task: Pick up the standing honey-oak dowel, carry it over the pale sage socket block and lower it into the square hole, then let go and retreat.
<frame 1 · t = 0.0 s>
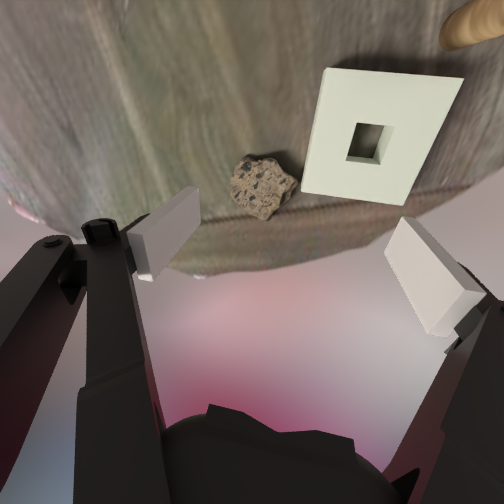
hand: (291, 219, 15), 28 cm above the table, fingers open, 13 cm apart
socket block: (362, 139, 36), on the table
rock: (262, 182, 43), on the table
dowel: (458, 29, 28), on the table
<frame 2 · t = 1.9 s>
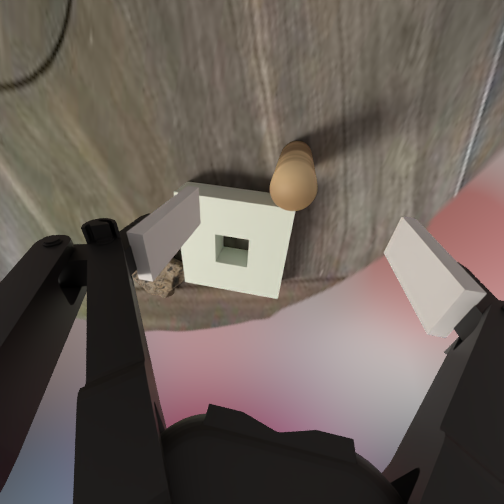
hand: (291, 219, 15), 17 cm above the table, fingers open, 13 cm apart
socket block: (238, 236, 37), on the table
rock: (161, 261, 44), on the table
dowel: (295, 158, 29), on the table
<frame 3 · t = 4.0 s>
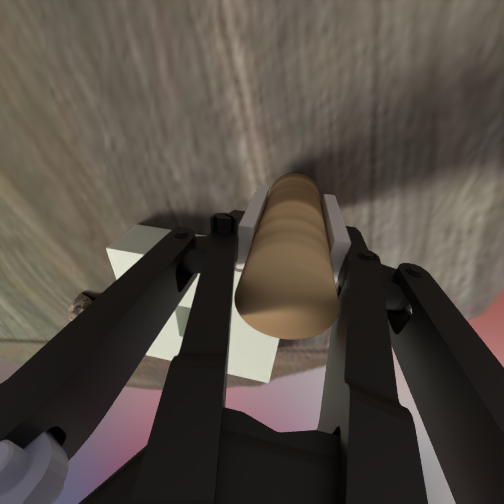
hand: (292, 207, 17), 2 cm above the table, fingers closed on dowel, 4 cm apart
socket block: (214, 295, 27), on the table
rock: (117, 316, 34), on the table
dowel: (293, 197, 19), on the table, touching gripper
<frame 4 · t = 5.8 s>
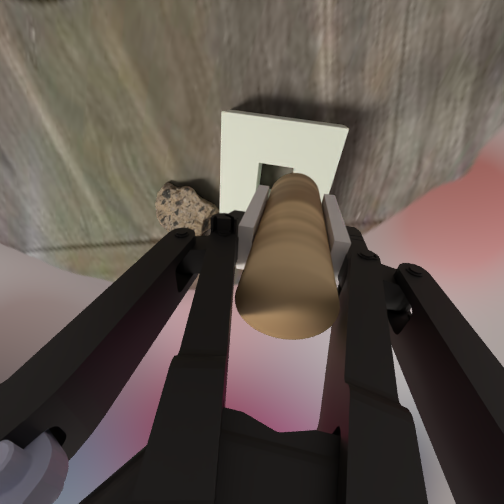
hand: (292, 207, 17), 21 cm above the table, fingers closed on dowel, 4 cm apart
socket block: (276, 174, 37), on the table
rock: (189, 207, 43), on the table
dowel: (294, 197, 19), point 19 cm above the table, touching gripper
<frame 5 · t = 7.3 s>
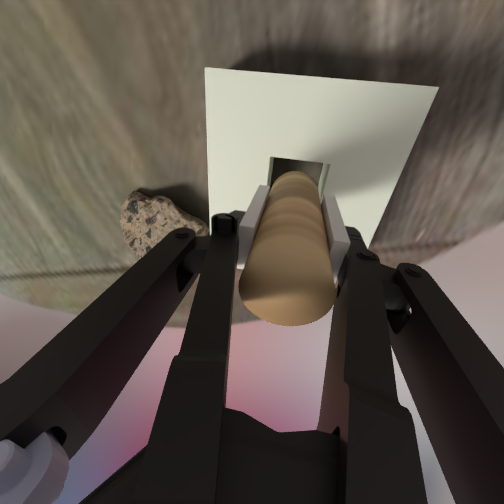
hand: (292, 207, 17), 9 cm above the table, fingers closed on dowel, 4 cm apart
socket block: (295, 175, 24), on the table
rock: (169, 224, 31), on the table
dowel: (293, 195, 19), point 6 cm above the table, touching gripper
when the fingers open (6 cm above the table, at t = 8.1 s): dowel drops 2 cm, on the table.
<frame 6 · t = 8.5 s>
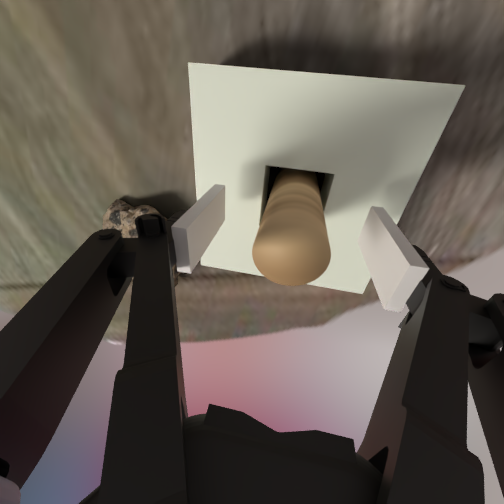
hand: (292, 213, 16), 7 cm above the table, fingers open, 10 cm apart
socket block: (294, 184, 22), on the table
rock: (157, 235, 28), on the table
dowel: (295, 185, 22), on the table
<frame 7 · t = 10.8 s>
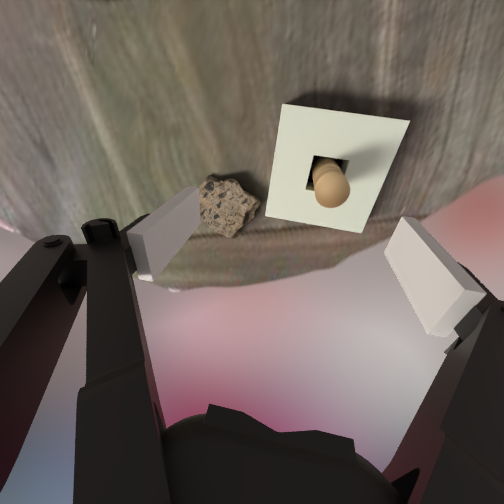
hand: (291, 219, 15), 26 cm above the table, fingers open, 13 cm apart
socket block: (323, 168, 37), on the table
rock: (228, 201, 44), on the table
dowel: (324, 168, 37), on the table
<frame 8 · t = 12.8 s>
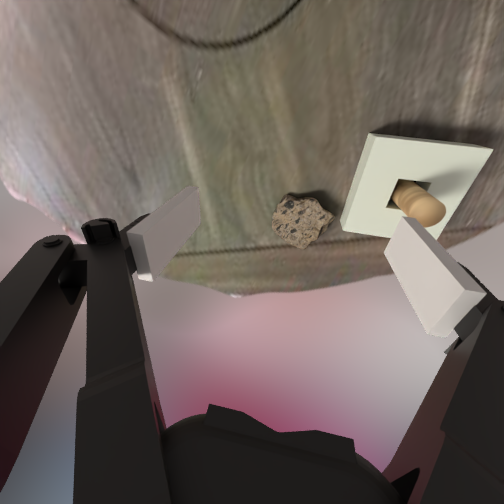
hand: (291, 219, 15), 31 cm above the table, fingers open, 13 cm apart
socket block: (398, 187, 41), on the table
rock: (300, 215, 48), on the table
dowel: (398, 187, 41), on the table
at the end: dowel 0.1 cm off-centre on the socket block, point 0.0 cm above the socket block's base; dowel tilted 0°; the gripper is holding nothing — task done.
